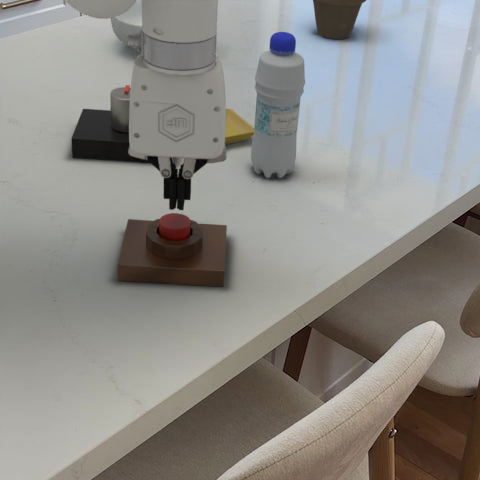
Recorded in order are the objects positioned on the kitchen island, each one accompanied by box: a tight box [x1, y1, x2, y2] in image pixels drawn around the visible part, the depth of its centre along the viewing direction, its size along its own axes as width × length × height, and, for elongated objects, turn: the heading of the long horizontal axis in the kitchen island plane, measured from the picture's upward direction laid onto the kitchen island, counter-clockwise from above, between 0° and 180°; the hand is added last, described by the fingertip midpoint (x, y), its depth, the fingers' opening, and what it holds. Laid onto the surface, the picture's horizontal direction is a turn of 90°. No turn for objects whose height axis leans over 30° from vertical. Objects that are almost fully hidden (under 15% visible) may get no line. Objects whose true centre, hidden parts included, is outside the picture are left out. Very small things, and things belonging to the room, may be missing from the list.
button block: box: [117, 218, 228, 287], centre depth 104 cm, size 12×10×4 cm
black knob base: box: [70, 108, 175, 164], centre depth 128 cm, size 14×10×3 cm
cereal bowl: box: [110, 0, 142, 54], centre depth 159 cm, size 17×17×7 cm
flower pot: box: [312, 0, 367, 40], centre depth 172 cm, size 12×11×10 cm
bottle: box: [250, 31, 306, 179], centre depth 120 cm, size 7×7×20 cm
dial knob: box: [109, 84, 131, 132], centre depth 125 cm, size 4×4×5 cm
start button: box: [159, 212, 191, 241], centre depth 103 cm, size 4×4×2 cm
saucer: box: [225, 108, 255, 146], centre depth 133 cm, size 9×9×2 cm
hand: (177, 203), depth 101 cm, fingers closed
